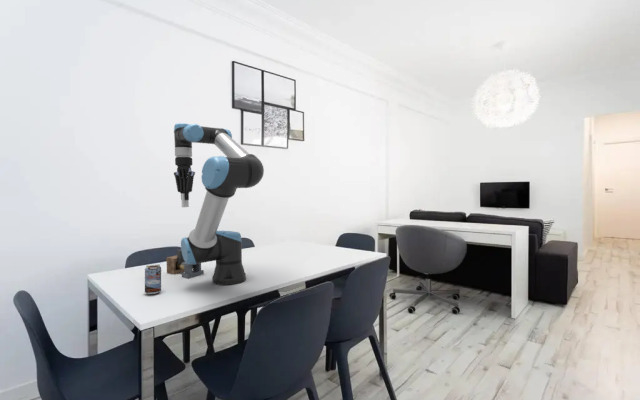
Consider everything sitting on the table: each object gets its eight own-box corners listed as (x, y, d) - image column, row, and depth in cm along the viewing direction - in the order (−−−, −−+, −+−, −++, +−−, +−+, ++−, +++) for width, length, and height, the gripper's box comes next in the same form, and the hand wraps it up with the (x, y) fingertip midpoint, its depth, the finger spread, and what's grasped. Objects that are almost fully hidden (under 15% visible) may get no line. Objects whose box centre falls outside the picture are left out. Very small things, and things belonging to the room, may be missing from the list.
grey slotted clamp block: (203, 274, 166) (203, 260, 166) (188, 278, 159) (187, 264, 158) (197, 273, 169) (196, 259, 169) (181, 277, 161) (181, 263, 161)
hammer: (193, 269, 166) (193, 250, 165) (187, 271, 163) (187, 252, 162) (179, 267, 172) (178, 248, 172) (173, 268, 169) (172, 249, 169)
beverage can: (144, 297, 132) (143, 267, 132) (145, 291, 139) (144, 263, 139) (161, 294, 135) (160, 265, 134) (162, 289, 142) (161, 261, 141)
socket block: (185, 271, 172) (184, 256, 172) (174, 274, 166) (173, 258, 166) (178, 270, 175) (177, 255, 175) (166, 273, 170) (166, 257, 169)
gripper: (199, 156, 156) (200, 206, 156) (182, 158, 162) (183, 206, 163) (185, 155, 149) (187, 207, 150) (168, 157, 156) (169, 207, 157)
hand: (185, 207), depth 157 cm, fingers closed
